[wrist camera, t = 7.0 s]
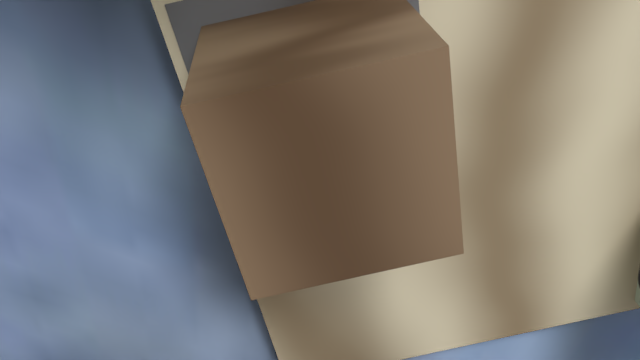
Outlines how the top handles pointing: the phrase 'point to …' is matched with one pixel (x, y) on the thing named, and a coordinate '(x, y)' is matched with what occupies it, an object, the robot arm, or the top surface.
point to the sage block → (637, 295)
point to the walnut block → (327, 141)
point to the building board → (492, 182)
